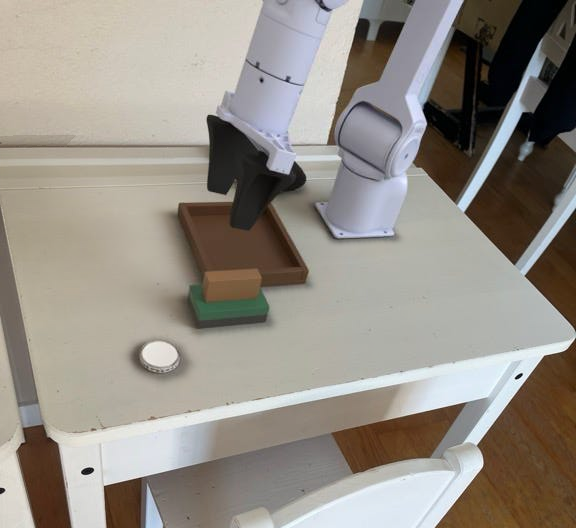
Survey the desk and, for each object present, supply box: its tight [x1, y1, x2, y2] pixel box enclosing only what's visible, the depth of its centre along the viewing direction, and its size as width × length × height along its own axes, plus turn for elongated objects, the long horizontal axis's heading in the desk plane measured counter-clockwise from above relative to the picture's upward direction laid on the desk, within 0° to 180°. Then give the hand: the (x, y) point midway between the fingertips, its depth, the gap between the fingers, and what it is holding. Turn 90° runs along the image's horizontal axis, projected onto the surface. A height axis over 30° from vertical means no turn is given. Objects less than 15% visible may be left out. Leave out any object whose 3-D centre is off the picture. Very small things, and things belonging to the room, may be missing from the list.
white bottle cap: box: [139, 339, 181, 374], centre depth 63 cm, size 4×4×1 cm
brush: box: [187, 269, 270, 330], centre depth 68 cm, size 4×8×5 cm, turn 110°
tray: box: [177, 201, 310, 288], centre depth 78 cm, size 13×15×2 cm
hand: (227, 209), depth 63 cm, fingers open, 7 cm apart
